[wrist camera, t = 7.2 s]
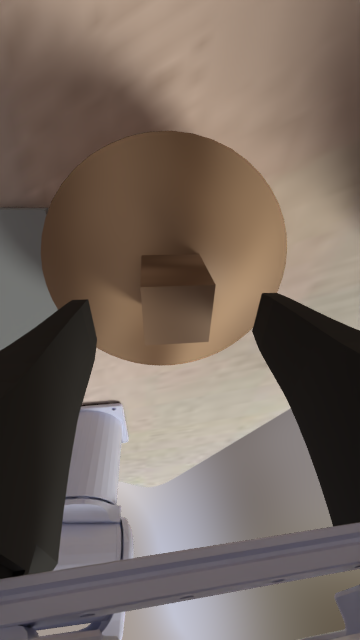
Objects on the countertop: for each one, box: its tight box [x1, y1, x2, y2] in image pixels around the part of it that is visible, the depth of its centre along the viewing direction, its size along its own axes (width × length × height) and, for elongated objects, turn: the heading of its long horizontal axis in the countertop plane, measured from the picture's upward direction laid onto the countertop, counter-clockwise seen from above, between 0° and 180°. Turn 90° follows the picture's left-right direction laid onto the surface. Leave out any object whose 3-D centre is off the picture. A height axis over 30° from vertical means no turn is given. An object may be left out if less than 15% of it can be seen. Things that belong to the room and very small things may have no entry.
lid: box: [41, 131, 287, 365], centre depth 12 cm, size 13×13×4 cm
